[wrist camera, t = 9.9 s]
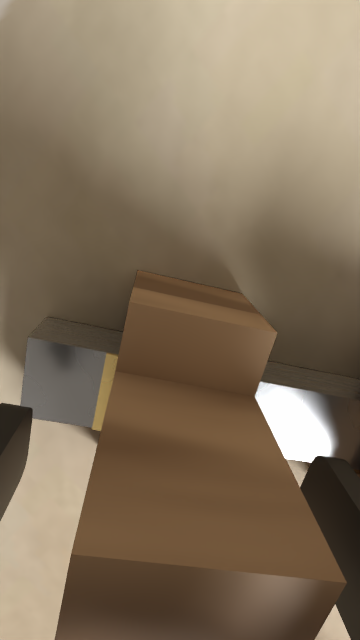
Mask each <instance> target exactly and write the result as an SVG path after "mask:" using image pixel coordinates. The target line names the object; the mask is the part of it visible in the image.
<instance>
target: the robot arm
mask: <svg viewBox="0 0 360 640" xmlns="http://www.w3.org/2000/svg"><path fill="white" fill-rule="evenodd" d="M32 416H33V409H32V408H30V407H24V406H18V405H12V404H6V403H1V404H0V521H1V519H2V517H3V515H4V513H5V511H6V508H7V506H8V504H9V502H10V500H11V498H12V496H13V494H14V492H15V490H16V488H17V486H18V484H19V482H20V479H21V477H22V474H23V471H24V468H25V465H26V461H27V456H28V449H29V441H30V433H31V424H32ZM300 489H301V491H302V493H303V495H304V497H305V499H306V501H307V503H308V505H309V507H310V509H311V511H312V513H313V515H314V517H315V519H316V521H317V523H318V525H319V527H320V529H321V531H322V533H323V535H324V537H325V540H326V542H327V544H328V546H329V548H330V550H331V552H332V554H333V556H334V558H335V560H336V562H337V564H338V566H339V568H340V570H341V572H342V574H343V576H344V578H345V580H346V582H347V584H346V586H345V587H344V589H343V591H342V592H341V594H340V596H339V598H338V599H337V601H336V603H335V604H336V607H337V609H338V611H339V613H340V616H341V618H342V620H343V622H344V625H345V627H346V629H347V632H348V634H349V636H350V638H351V640H360V478H359V477H358V475H357V474H356V472H355V471H354V470H353V468H352V467H351V466H350V464H349V463H348V462H347V461H346V460H344V459H339V458H333V457H327V456H321V455H318V456H316V457H315V458H314V459H313V461H312V463H311V465H310V467H309V469H308V471H307V474H306V476H305V478H304V480H303V482H302V485H301V487H300Z"/></svg>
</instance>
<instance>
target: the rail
mask: <svg viewBox="0 0 360 640" xmlns="http://www.w3.org/2000/svg"><path fill="white" fill-rule="evenodd" d="M122 335H123V332H121V331H116V330H111V329H106V328H101V327H96V326H91V325H86V324H81V323H76V322H71V321H66V320H61V319H56V318H51V317H46V318H45V319H44V321H43V322H42V323H41V324H40V325H39V326H38V327H37V328H36V329H35V330H34V331H33V332H32V333H31V335H30V336H29V337H28V340H27V350H26V359H25V368H24V377H23V387H22V396H21V405H20V406H24V407H30V408H32V409H33V416H32V418H34V419H40V420H46V421H53V422H59V423H65V424H72V425H78V426H84V427H90V428H92V430H98V431H101V428H102V424H103V420H104V416H105V412H106V408H107V403H108V399H109V395H110V391H111V387H112V383H113V379H114V374H115V370H116V365H117V360H118V355H119V350H120V345H121V340H122ZM255 398H256V400H257V402H258V404H259V406H260V408H261V410H262V412H263V414H264V416H265V418H266V420H267V422H268V424H269V426H270V428H271V430H272V432H273V434H274V436H275V438H276V440H277V443H278V445H279V447H280V449H281V451H282V453H283V455H284V457H285V458H286V459H293V460H299V461H305V462H312V461H313V459H314V458H315V457H316V456H318V455H321V456H327V457H333V458H339V459H344V460H346V461H347V462H348V463H349V464H350V466H351V467H352V468H353V470H354V471H355V472H356V474H357V475H358V477H359V478H360V379H356V378H351V377H346V376H341V375H336V374H331V373H326V372H321V371H316V370H311V369H306V368H301V367H296V366H291V365H286V364H281V363H276V362H271V361H267V364H266V367H265V369H264V372H263V375H262V378H261V381H260V383H259V386H258V389H257V392H256V394H255Z"/></svg>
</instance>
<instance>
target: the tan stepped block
mask: <svg viewBox="0 0 360 640" xmlns="http://www.w3.org/2000/svg"><path fill="white" fill-rule="evenodd" d="M276 336H277V332H276V331H275V330H274V328H273V327H272V326H271V325H270V324H269V323H268V322H267V321H266V320H265V318H264V317H263V316H262V315H261V314H260V313H259V312H258V311H257V310H256V308H255V307H254V306H253V305H252V304H251V303H250V302H249V301H248V300H247V298H246V297H245V296H244V295H243V294H242V293H237V292H233V291H228V290H224V289H220V288H215V287H211V286H206V285H202V284H197V283H193V282H188V281H184V280H179V279H175V278H171V277H166V276H162V275H157V274H153V273H148V272H144V271H139V270H138V271H137V275H136V278H135V282H134V286H133V290H132V293H131V297H130V301H129V306H128V311H127V315H126V320H125V325H124V330H123V335H122V340H121V345H120V350H119V355H118V360H117V365H116V370H115V374H114V379H113V383H112V387H111V391H110V395H109V399H108V403H107V408H106V412H105V416H104V420H103V424H102V428H101V432H100V437H99V441H98V445H97V449H96V453H95V457H94V462H93V466H92V470H91V474H90V478H89V482H88V486H87V491H86V495H85V499H84V503H83V507H82V511H81V516H80V520H79V524H78V528H77V532H76V536H75V540H74V545H73V549H72V553H71V558H70V563H69V568H68V573H67V579H66V584H65V589H64V594H63V599H62V605H61V610H60V615H59V620H58V625H57V631H56V636H55V640H314V639H315V638H316V636H317V634H318V632H319V631H320V629H321V627H322V625H323V624H324V622H325V620H326V619H327V617H328V615H329V613H330V612H331V610H332V608H333V606H334V605H335V603H336V601H337V599H338V598H339V596H340V594H341V592H342V591H343V589H344V587H345V586H346V584H347V582H346V580H345V578H344V576H343V574H342V572H341V570H340V568H339V566H338V564H337V562H336V560H335V558H334V556H333V554H332V552H331V550H330V548H329V546H328V544H327V542H326V540H325V537H324V535H323V533H322V531H321V529H320V527H319V525H318V523H317V521H316V519H315V517H314V515H313V513H312V511H311V509H310V507H309V505H308V503H307V501H306V499H305V497H304V495H303V493H302V491H301V489H300V487H299V485H298V483H297V481H296V479H295V477H294V475H293V473H292V471H291V469H290V467H289V465H288V463H287V461H286V459H285V457H284V455H283V453H282V451H281V449H280V447H279V445H278V443H277V440H276V438H275V436H274V434H273V432H272V430H271V428H270V426H269V424H268V422H267V420H266V418H265V416H264V414H263V412H262V410H261V408H260V406H259V404H258V402H257V400H256V398H255V394H256V392H257V389H258V386H259V383H260V381H261V378H262V375H263V372H264V369H265V367H266V364H267V361H268V358H269V355H270V353H271V350H272V347H273V344H274V342H275V339H276Z"/></svg>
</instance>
